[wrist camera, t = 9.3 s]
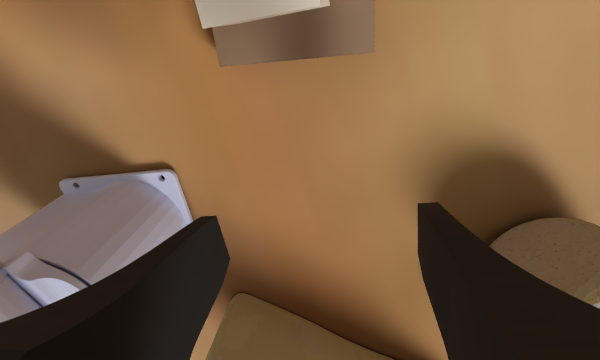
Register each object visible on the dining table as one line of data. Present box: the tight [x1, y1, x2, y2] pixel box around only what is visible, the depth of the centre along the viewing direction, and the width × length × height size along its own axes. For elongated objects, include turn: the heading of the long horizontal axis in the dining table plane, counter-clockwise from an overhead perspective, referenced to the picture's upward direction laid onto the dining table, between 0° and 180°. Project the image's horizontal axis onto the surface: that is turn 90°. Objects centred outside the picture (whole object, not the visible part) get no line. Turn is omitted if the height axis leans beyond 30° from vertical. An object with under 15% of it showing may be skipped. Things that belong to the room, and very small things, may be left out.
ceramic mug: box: [489, 218, 600, 308], centre depth 20 cm, size 11×8×8 cm
